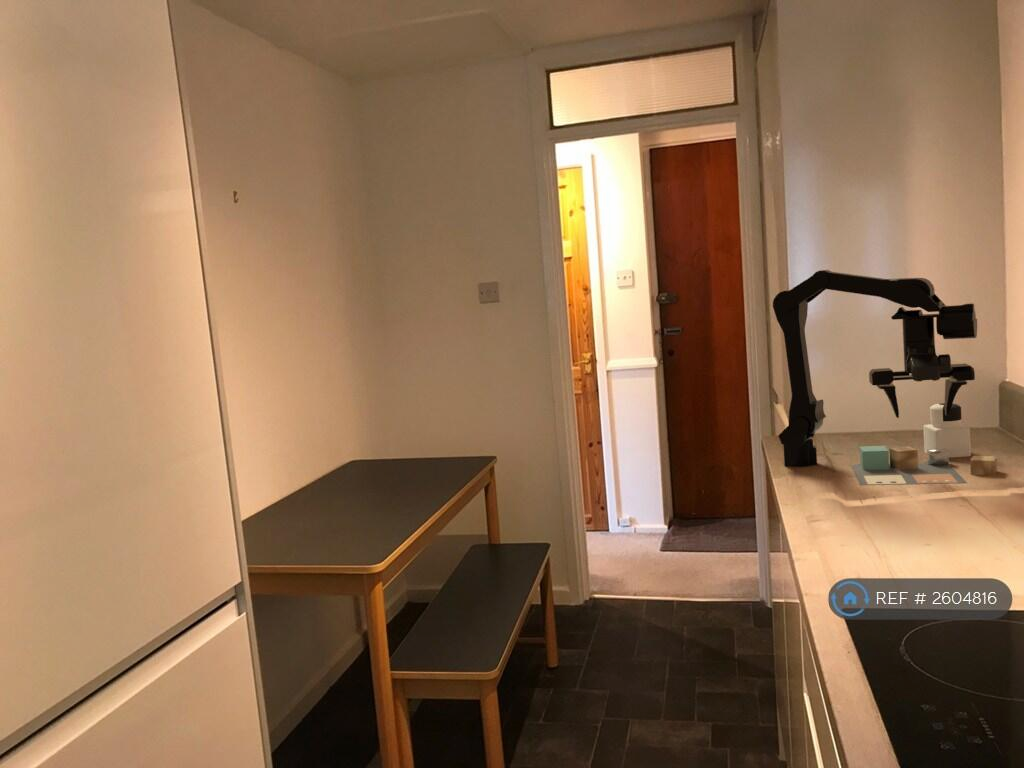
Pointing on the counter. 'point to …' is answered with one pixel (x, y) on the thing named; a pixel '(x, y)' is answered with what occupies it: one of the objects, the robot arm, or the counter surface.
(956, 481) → the board
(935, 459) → the metal tin
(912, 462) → the oak cube
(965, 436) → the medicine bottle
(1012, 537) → the counter surface
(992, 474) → the oak cube
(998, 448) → the counter surface
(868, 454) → the green cube
